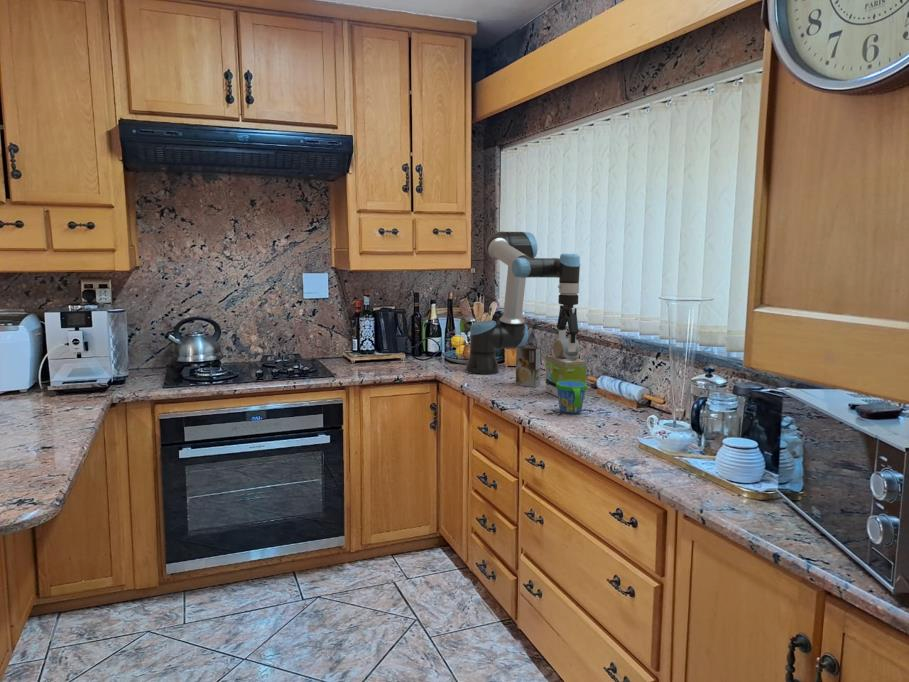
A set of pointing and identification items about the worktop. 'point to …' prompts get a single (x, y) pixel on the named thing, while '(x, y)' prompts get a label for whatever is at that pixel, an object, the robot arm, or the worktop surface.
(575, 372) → the tea box
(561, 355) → the ceramic mug
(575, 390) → the snack cup
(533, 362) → the coffee box
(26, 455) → the worktop surface
